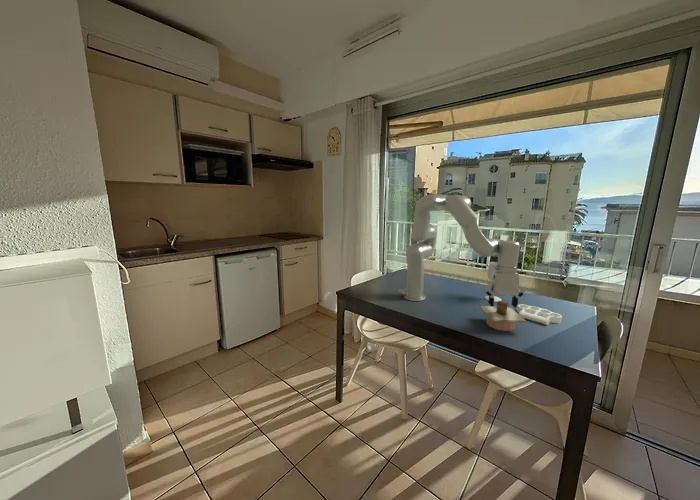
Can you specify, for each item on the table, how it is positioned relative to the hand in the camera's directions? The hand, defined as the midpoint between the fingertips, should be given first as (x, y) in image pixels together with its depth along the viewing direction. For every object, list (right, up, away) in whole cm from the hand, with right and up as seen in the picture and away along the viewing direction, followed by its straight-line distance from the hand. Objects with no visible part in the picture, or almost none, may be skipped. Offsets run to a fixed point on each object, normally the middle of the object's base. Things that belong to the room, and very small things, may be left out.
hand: (502, 305), depth 119 cm
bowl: (0, -9, +2) cm, 9 cm away
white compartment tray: (+22, -8, +10) cm, 26 cm away
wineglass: (+13, -3, +32) cm, 35 cm away
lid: (0, -4, +1) cm, 4 cm away
